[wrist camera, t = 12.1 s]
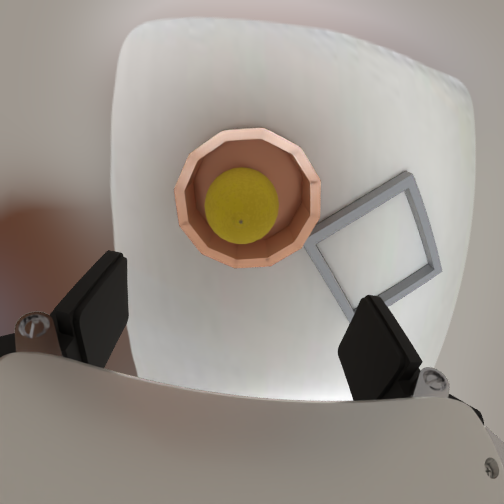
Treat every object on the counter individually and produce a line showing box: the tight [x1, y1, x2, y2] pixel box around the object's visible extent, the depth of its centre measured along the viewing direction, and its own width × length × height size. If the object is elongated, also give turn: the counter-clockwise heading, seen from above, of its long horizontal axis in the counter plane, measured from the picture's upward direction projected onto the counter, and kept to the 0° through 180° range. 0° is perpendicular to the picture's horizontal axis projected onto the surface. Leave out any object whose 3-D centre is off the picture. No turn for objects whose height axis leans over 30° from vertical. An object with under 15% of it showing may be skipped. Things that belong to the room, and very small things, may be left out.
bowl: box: [174, 127, 321, 268], centre depth 23 cm, size 11×11×4 cm
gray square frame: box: [303, 171, 442, 323], centre depth 28 cm, size 13×13×2 cm
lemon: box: [204, 167, 279, 244], centre depth 21 cm, size 6×6×8 cm
